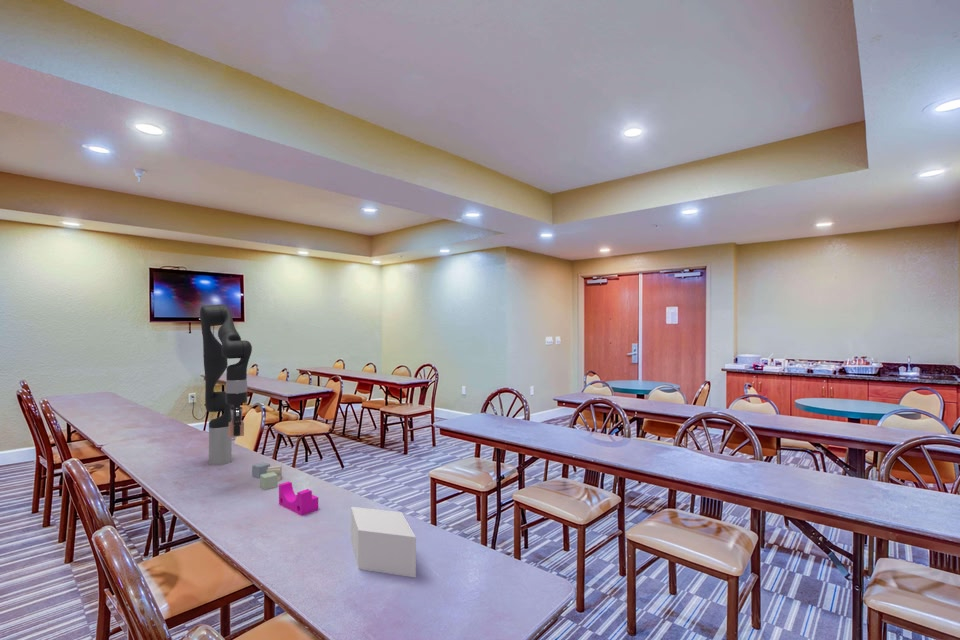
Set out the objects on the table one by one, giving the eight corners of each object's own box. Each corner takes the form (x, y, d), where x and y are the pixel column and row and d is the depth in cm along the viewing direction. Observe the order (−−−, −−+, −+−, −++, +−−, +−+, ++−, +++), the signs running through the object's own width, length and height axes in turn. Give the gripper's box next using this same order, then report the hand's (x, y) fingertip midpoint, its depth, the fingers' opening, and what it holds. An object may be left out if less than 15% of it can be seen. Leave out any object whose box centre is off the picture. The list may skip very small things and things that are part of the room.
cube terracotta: (228, 434, 174) (228, 422, 174) (242, 433, 176) (242, 420, 176) (229, 437, 169) (229, 424, 169) (243, 435, 172) (244, 422, 172)
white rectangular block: (371, 532, 135) (371, 499, 136) (436, 565, 117) (436, 527, 117) (328, 551, 124) (328, 514, 125) (393, 591, 106) (393, 548, 106)
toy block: (318, 510, 152) (318, 488, 152) (301, 516, 147) (301, 494, 147) (295, 499, 161) (295, 479, 161) (278, 505, 156) (278, 484, 156)
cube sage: (260, 487, 174) (260, 474, 174) (273, 484, 177) (273, 471, 177) (264, 490, 170) (264, 478, 170) (277, 487, 173) (277, 475, 173)
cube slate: (252, 477, 186) (252, 465, 186) (263, 473, 190) (263, 462, 190) (258, 479, 183) (258, 467, 183) (270, 475, 187) (270, 464, 187)
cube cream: (268, 478, 183) (268, 466, 183) (281, 477, 185) (281, 465, 185) (266, 482, 179) (266, 470, 179) (279, 481, 180) (280, 469, 180)
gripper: (224, 389, 177) (224, 431, 177) (226, 394, 165) (226, 439, 165) (245, 388, 181) (245, 429, 181) (248, 392, 169) (248, 436, 169)
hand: (236, 433), depth 173 cm, fingers closed on cube terracotta, 5 cm apart
